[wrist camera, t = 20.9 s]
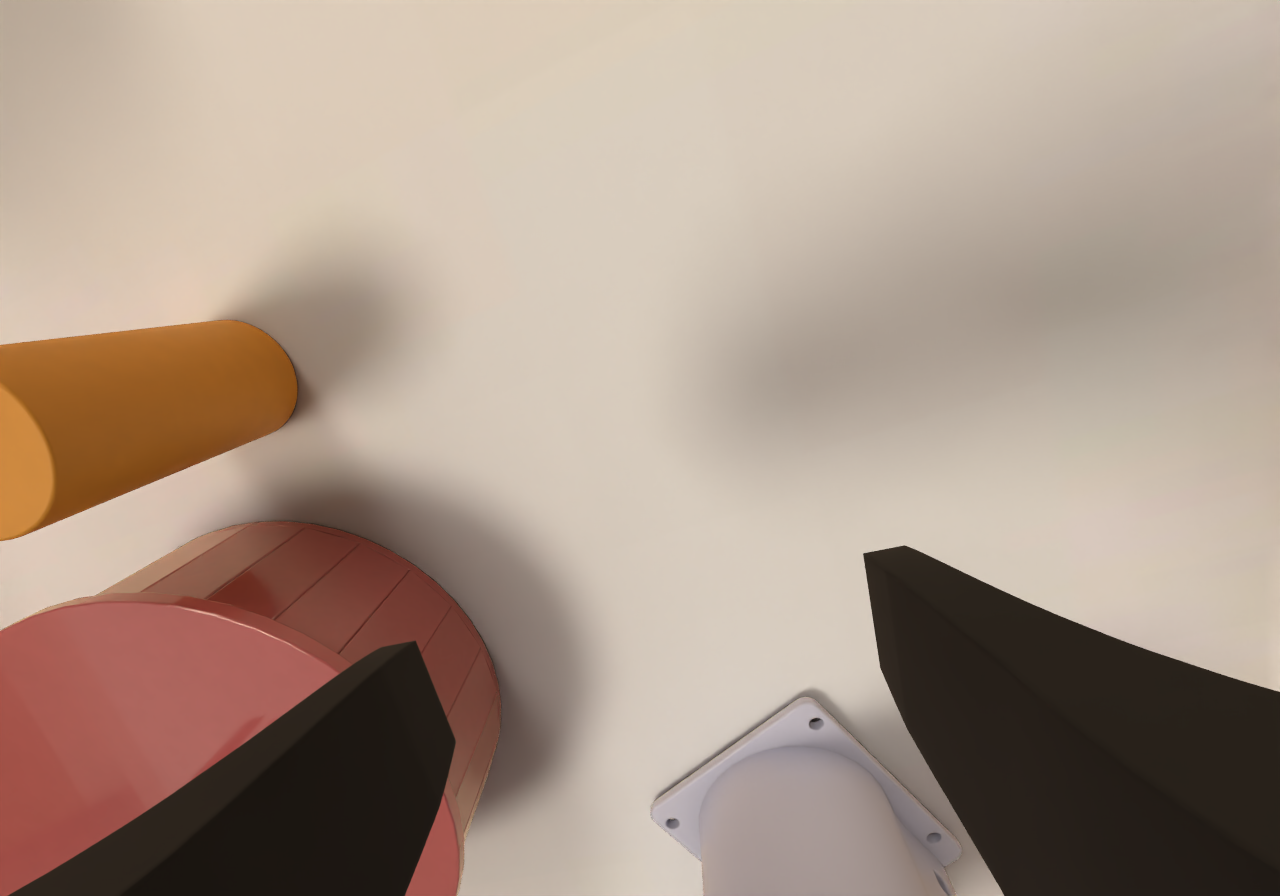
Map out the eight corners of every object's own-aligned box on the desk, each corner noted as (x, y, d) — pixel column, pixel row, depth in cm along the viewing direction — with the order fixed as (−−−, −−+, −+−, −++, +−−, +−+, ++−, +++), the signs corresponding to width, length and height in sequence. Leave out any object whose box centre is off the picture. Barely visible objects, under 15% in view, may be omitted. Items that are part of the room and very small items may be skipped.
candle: (322, 382, 19) (91, 457, 11) (253, 459, 20) (-4, 577, 12) (225, 293, 18) (-89, 310, 11) (158, 377, 19) (-177, 448, 12)
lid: (576, 823, 18) (546, 1008, 13) (276, 1042, 21) (173, 1246, 17) (145, 466, 15) (-72, 549, 10) (-118, 785, 18) (-366, 948, 14)
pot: (580, 708, 22) (554, 841, 17) (345, 894, 25) (263, 1053, 20) (272, 437, 20) (132, 496, 14) (54, 682, 23) (-125, 803, 18)
